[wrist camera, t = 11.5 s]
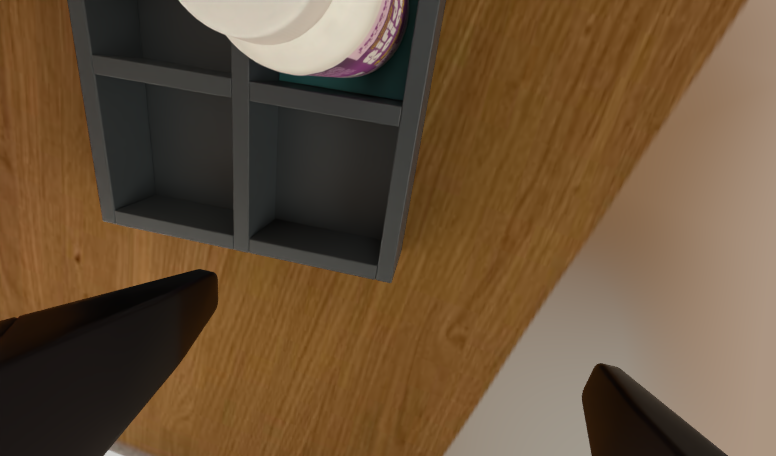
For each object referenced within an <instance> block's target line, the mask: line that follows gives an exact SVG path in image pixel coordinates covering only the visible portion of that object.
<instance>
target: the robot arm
mask: <svg viewBox="0 0 776 456" xmlns="http://www.w3.org/2000/svg"><path fill="white" fill-rule="evenodd" d="M217 305H218V278H217V275H216V274H215V273H214V272H210V271H206V270H202V269H198V270H194V271H190V272H186V273H182V274H178V275H175V276H171V277H167V278H163V279H159V280H155V281H152V282H148V283H144V284H140V285H136V286H132V287H129V288H125V289H121V290H117V291H113V292H110V293H106V294H102V295H98V296H94V297H90V298H87V299H83V300H79V301H75V302H71V303H68V304H64V305H60V306H56V307H52V308H48V309H45V310H41V311H37V312H33V313H29V314H25V315H22V316H19V317H18V318H15V317H14V318H10V319H6V320H2V321H0V456H104V455H105V453H106V452H107V451H108V450H109V448H110V447H111V446H112V445H113V444H114V442H115V441H116V440H117V439H118V438H119V436H120V435H121V434H122V433H123V432H124V430H125V429H126V428H127V427H128V426H129V424H130V423H131V422H132V421H133V419H134V418H135V417H136V416H137V415H138V413H139V412H140V411H141V410H142V409H143V407H144V406H145V405H146V404H147V403H148V401H149V400H150V399H151V398H152V397H153V395H154V394H155V393H156V392H157V390H158V389H159V388H160V387H161V386H162V384H163V383H164V382H165V381H166V380H167V378H168V377H169V376H170V375H171V374H172V372H173V371H174V370H175V369H176V367H177V366H178V365H179V364H180V362H181V361H182V359H183V358H184V357H185V355H186V354H187V352H188V351H189V349H190V348H191V346H192V345H193V343H194V342H195V340H196V339H197V337H198V336H199V334H200V333H201V331H202V330H203V328H204V327H205V325H206V324H207V322H208V321H209V319H210V318H211V316H212V315H213V313H214V312H215V310H216V308H217ZM582 403H583V409H584V415H585V420H586V426H587V432H588V437H589V443H590V448H591V454H592V456H728V455H726V454H725V453H724V452H723V451H721V450H720V449H719V448H718V447H716V446H715V445H714V444H713V443H711V442H710V441H709V440H708V439H707V438H705V437H704V436H703V435H701V434H700V433H699V432H698V431H697V430H695V429H694V428H693V427H692V426H690V425H689V424H688V423H687V422H685V421H684V420H683V419H682V418H681V417H679V416H678V415H677V414H676V413H674V412H673V411H672V410H671V409H669V408H668V407H667V406H666V405H664V404H663V403H662V402H661V401H659V400H658V399H657V398H656V397H655V396H653V395H652V394H651V393H650V392H648V391H647V390H646V389H645V388H643V387H642V386H641V385H640V384H638V383H637V382H636V381H635V380H633V379H632V378H631V377H630V376H629V375H627V374H626V373H625V372H623V371H622V370H621V369H620V368H618V367H615V366H610V365H606V364H602V363H600V364H597V365H596V366H595V367H594V369H593V371H592V373H591V375H590V377H589V379H588V381H587V383H586V385H585V387H584V390H583V393H582Z"/></svg>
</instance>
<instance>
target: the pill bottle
mask: <svg viewBox="0 0 776 456" xmlns="http://www.w3.org/2000/svg"><path fill="white" fill-rule="evenodd" d="M179 1H180V3H181V4H182V5H183V6H184V7H185V8H186V9H187V10H188V11H189V12H190V13H191V14H192V15H193V16H194V17H195V18H196V19H198V20H199V21H200V22H202V23H203V24H205V25H206V26H208V27H209V28H211V29H213V30H215V31H218V32H220V33H222V34H225V35H226V36H227V37H228V38H229V40H230V41H231V42H232V43H233V44H234V45H235V46H236V47H237V48H238V49H239V50H240V51H241V52H243V53H244V54H245V55H246V56H248V57H249V58H251V59H252V60H254V61H255V62H257V63H259V64H261V65H263V66H265V67H267V68H270V69H272V70H275V71H278V72H282V73H286V74H291V75H297V76H307V75H309V76H322V77H337V78H352V77H360V76H364V75H367V74H370V73H372V72H374V71H376V70H377V69H379V68H380V67H382V66H383V65H384V64H385V63H386V62H387V61H388V60H389V59H390V58H391V57H392V56H393V54H394V53H395V52H396V50H397V49H398V47H399V45H400V44H401V41H402V39H403V36H404V34H405V31H406V28H407V23H408V17H409V0H179Z"/></svg>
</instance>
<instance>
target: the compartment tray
mask: <svg viewBox="0 0 776 456" xmlns="http://www.w3.org/2000/svg"><path fill="white" fill-rule="evenodd" d="M67 1H68V7H69V13H70V20H71V26H72V32H73V38H74V45H75V51H76V57H77V63H78V69H79V76H80V82H81V88H82V94H83V100H84V107H85V113H86V119H87V125H88V132H89V138H90V144H91V150H92V156H93V163H94V169H95V175H96V181H97V187H98V194H99V200H100V206H101V212H102V219H103V221H104V222H109V223H113V224H117V225H122V226H126V227H131V228H136V229H140V230H145V231H150V232H154V233H159V234H164V235H168V236H173V237H178V238H182V239H187V240H192V241H196V242H201V243H206V244H210V245H215V246H220V247H224V248H229V249H234V250H238V251H243V252H247V253H248V252H249V253H253V254H257V255H262V256H267V257H271V258H276V259H281V260H285V261H290V262H295V263H299V264H304V265H309V266H313V267H318V268H323V269H327V270H332V271H337V272H341V273H346V274H351V275H355V276H360V277H365V278H369V279H375V278H376V280H378V281H383V282H388V283H391V282H392V279H393V276H394V273H395V270H396V266H397V263H398V260H399V257H400V253H401V249H402V243H403V238H404V232H405V227H406V221H407V215H408V210H409V204H410V199H411V193H412V187H413V182H414V176H415V171H416V165H417V160H418V154H419V148H420V143H421V137H422V132H423V126H424V120H425V115H426V109H427V104H428V98H429V92H430V87H431V81H432V76H433V70H434V65H435V59H436V53H437V48H438V42H439V37H440V31H441V25H442V20H443V14H444V9H445V3H446V0H409V17H408V23H407V28H406V31H405V34H404V36H403V39H402V41H401V44H400V45H399V47H398V49H397V50H396V52H395V53H394V54H393V56H392V57H391V58H390V59H389V60H388V61H387V62H386V63H385V64H384V65H383V66H382V67H380V68H379V69H377V70H376V71H374V72H372V73H370V74H367V75H364V76H360V77H352V78H337V77H322V76H309V75H307V76H297V75H291V74H286V73H282V72H278V71H275V70H272V69H270V68H267V67H265V66H263V65H261V64H259V63H257V62H255V61H254V60H252V59H251V58H249V57H248V56H246V55H245V54H244V53H243V52H241V51H240V50H239V49H238V48H237V47H236V46H235V45H234V44H233V43H232V42H231V41H230V40H229V38H228V37H227V36H226V35H225V34H222V33H220V32H218V31H215V30H213V29H211V28H209V27H208V26H206V25H205V24H203V23H202V22H200V21H199V20H198V19H196V18H195V17H194V16H193V15H192V14H191V13H190V12H189V11H188V10H187V9H186V8H185V7H184V6H183V5H182V4H181V3H180V1H179V0H67Z"/></svg>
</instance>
